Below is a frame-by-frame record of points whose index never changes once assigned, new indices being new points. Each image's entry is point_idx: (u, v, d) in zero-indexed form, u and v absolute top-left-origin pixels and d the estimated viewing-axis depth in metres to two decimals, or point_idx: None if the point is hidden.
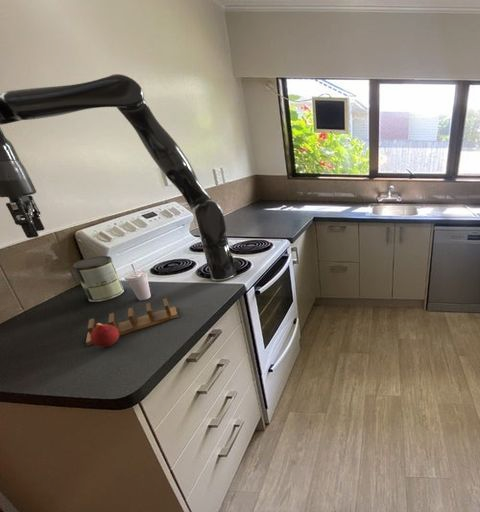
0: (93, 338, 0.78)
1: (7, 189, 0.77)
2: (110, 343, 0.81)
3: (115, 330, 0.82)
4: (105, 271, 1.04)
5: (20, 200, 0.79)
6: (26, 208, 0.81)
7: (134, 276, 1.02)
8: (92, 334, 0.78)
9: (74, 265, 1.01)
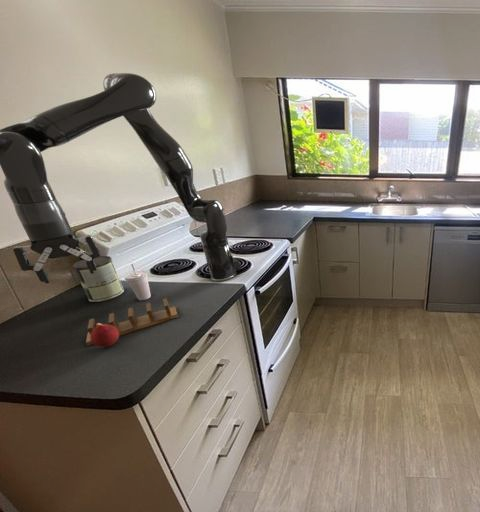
0: (93, 338, 0.78)
1: None
2: (110, 343, 0.81)
3: (115, 330, 0.82)
4: (105, 271, 1.04)
5: (31, 245, 0.71)
6: (41, 253, 0.72)
7: (134, 276, 1.02)
8: (92, 334, 0.78)
9: (74, 265, 1.01)
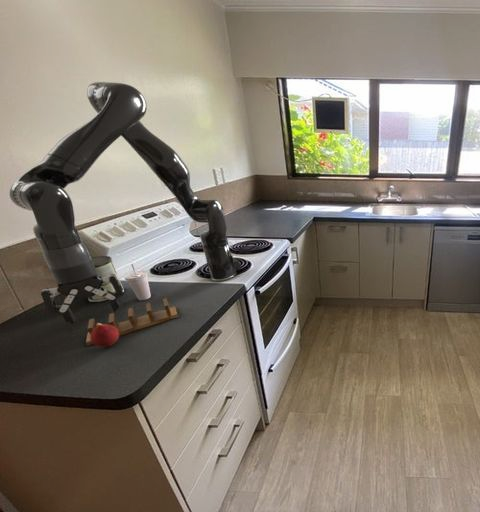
0: (93, 338, 0.78)
1: None
2: (110, 343, 0.81)
3: (115, 330, 0.82)
4: (105, 271, 1.04)
5: (58, 287, 0.71)
6: (67, 295, 0.73)
7: (134, 276, 1.02)
8: (92, 334, 0.78)
9: None
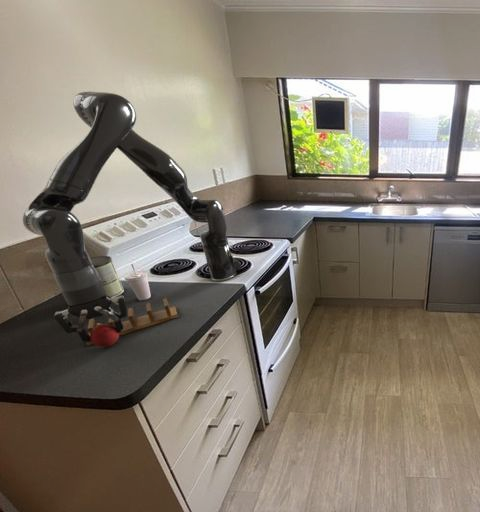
0: (93, 338, 0.78)
1: None
2: (110, 343, 0.81)
3: (115, 330, 0.82)
4: (105, 271, 1.04)
5: (68, 309, 0.74)
6: (77, 315, 0.75)
7: (134, 276, 1.02)
8: (92, 334, 0.78)
9: None
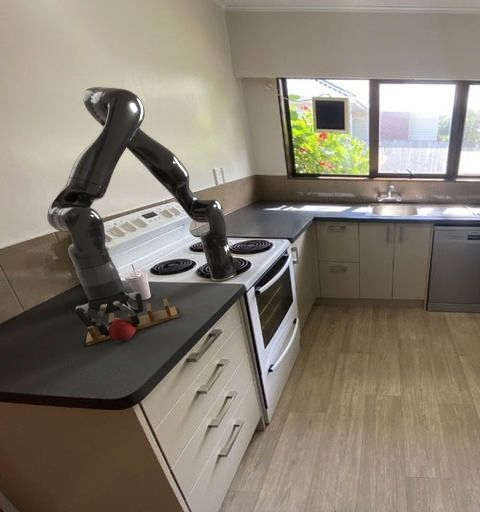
0: (111, 332, 0.80)
1: None
2: (127, 337, 0.83)
3: (132, 325, 0.84)
4: None
5: (88, 303, 0.76)
6: (97, 310, 0.78)
7: (134, 276, 1.02)
8: (110, 328, 0.81)
9: None
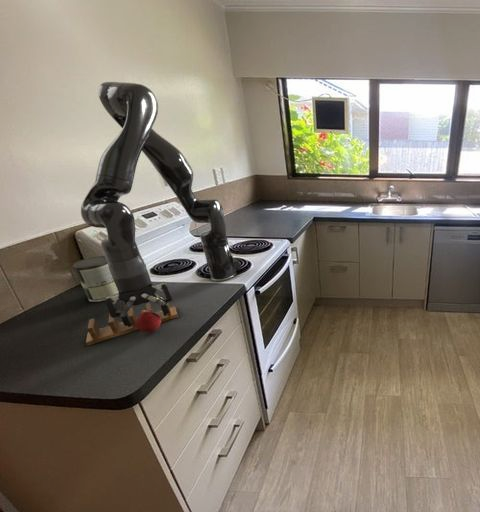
0: (139, 324, 0.84)
1: None
2: (154, 329, 0.86)
3: (158, 317, 0.87)
4: (105, 271, 1.04)
5: (119, 295, 0.80)
6: (126, 302, 0.81)
7: None
8: (138, 320, 0.84)
9: (74, 265, 1.01)
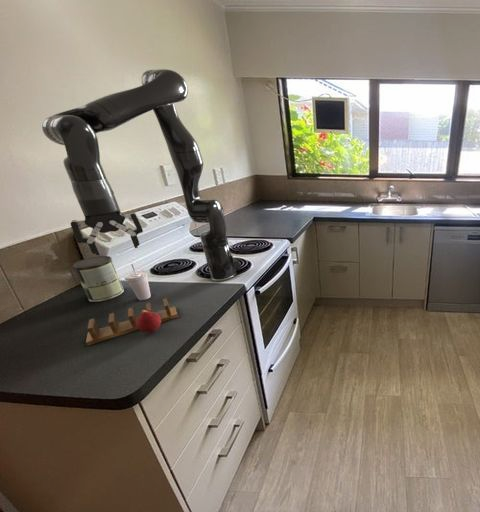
0: (139, 324, 0.84)
1: None
2: (154, 329, 0.86)
3: (158, 317, 0.87)
4: (105, 271, 1.04)
5: (85, 219, 0.78)
6: (93, 227, 0.79)
7: (134, 276, 1.02)
8: (138, 320, 0.84)
9: (74, 265, 1.01)
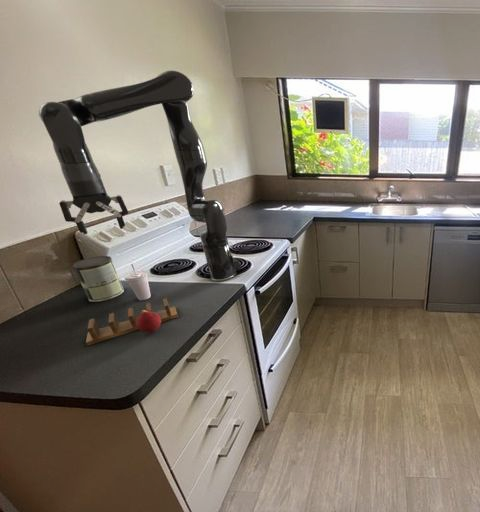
0: (139, 324, 0.84)
1: None
2: (154, 329, 0.86)
3: (158, 317, 0.87)
4: (105, 271, 1.04)
5: (73, 200, 0.84)
6: (81, 208, 0.86)
7: (134, 276, 1.02)
8: (138, 320, 0.84)
9: (74, 265, 1.01)
